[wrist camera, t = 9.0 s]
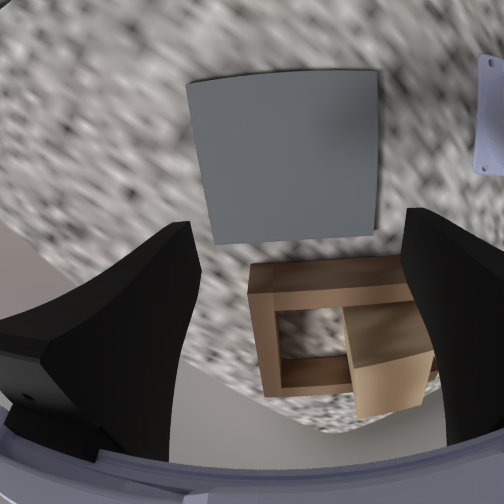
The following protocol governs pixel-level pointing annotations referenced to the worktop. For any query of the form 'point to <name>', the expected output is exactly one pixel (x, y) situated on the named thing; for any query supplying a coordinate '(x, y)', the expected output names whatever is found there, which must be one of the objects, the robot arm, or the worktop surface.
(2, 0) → the bowl
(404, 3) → the worktop surface
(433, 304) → the robot arm
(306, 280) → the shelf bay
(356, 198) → the mat
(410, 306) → the gripped blank
